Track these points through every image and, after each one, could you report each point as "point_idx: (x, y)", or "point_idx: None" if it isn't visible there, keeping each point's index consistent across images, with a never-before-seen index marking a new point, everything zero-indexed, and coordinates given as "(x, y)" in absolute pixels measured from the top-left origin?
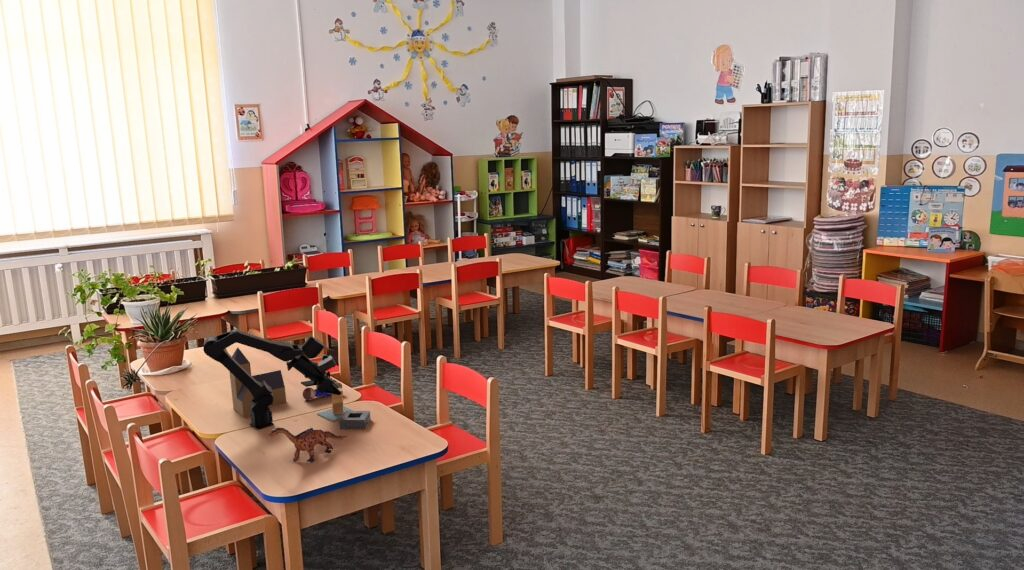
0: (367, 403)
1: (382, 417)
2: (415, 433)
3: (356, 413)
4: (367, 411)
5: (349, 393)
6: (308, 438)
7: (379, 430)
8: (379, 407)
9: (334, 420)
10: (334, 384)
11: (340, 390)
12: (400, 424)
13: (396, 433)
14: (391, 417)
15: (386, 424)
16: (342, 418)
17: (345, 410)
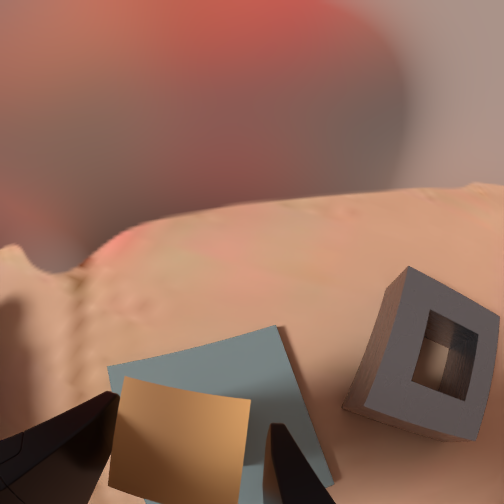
0: (146, 243)
1: (372, 236)
2: (496, 204)
3: (420, 343)
4: (415, 280)
5: (2, 273)
6: None
7: (485, 283)
8: (235, 212)
9: (329, 472)
10: (72, 447)
11: (235, 423)
12: (446, 209)
13: (501, 243)
14: (381, 209)
15: (443, 246)
16: (465, 426)
17: (196, 381)
